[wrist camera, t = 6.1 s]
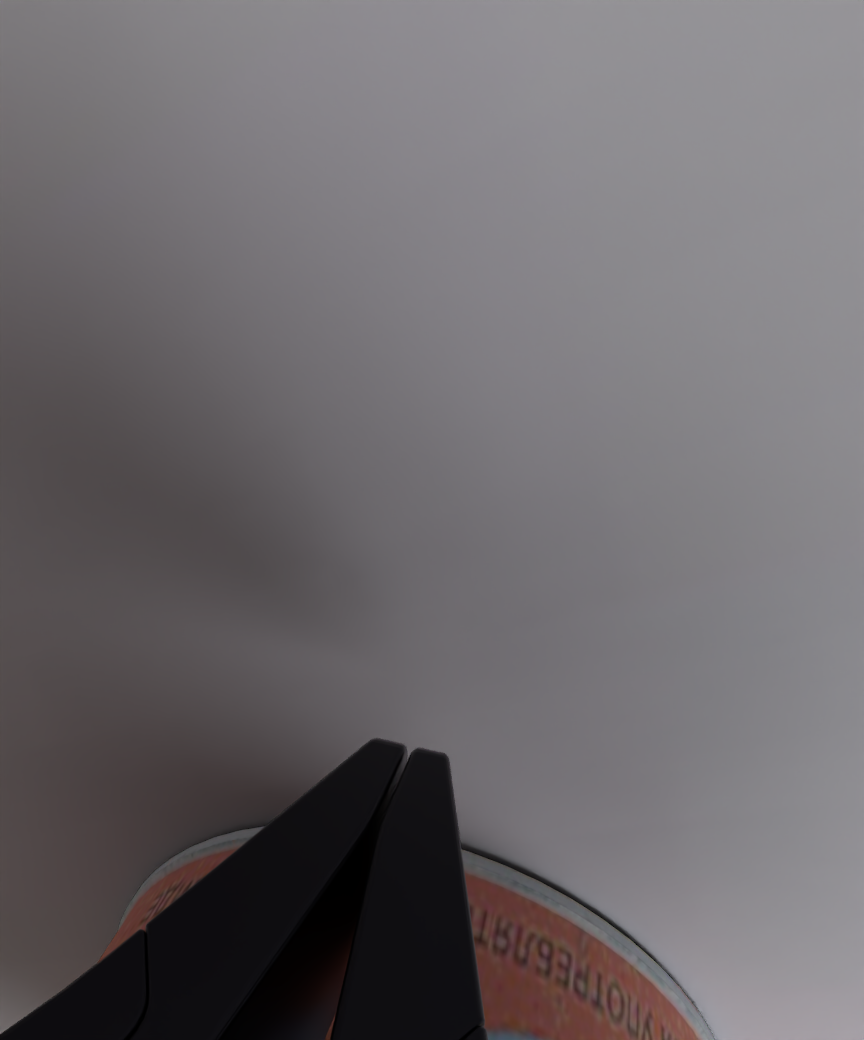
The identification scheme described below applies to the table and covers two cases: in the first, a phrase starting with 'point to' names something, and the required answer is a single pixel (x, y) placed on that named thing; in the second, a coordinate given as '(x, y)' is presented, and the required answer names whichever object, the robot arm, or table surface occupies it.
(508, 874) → the canned food
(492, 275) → the table surface
